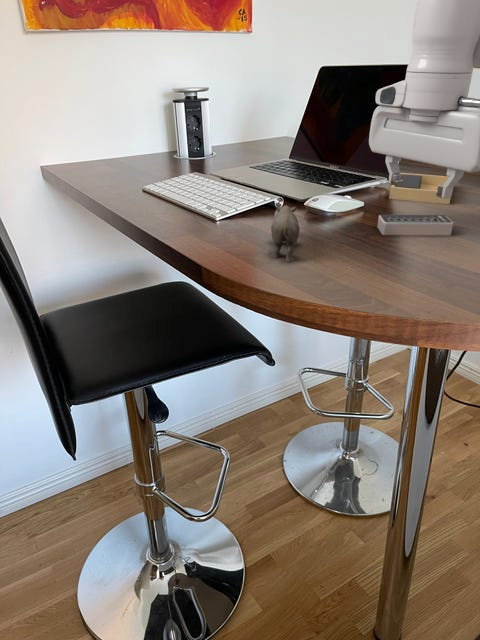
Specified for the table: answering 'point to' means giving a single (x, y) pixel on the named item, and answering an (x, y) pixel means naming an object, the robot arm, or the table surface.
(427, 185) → the tray
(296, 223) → the rhino figurine
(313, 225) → the table surface
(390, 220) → the multiport hub
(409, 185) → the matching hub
